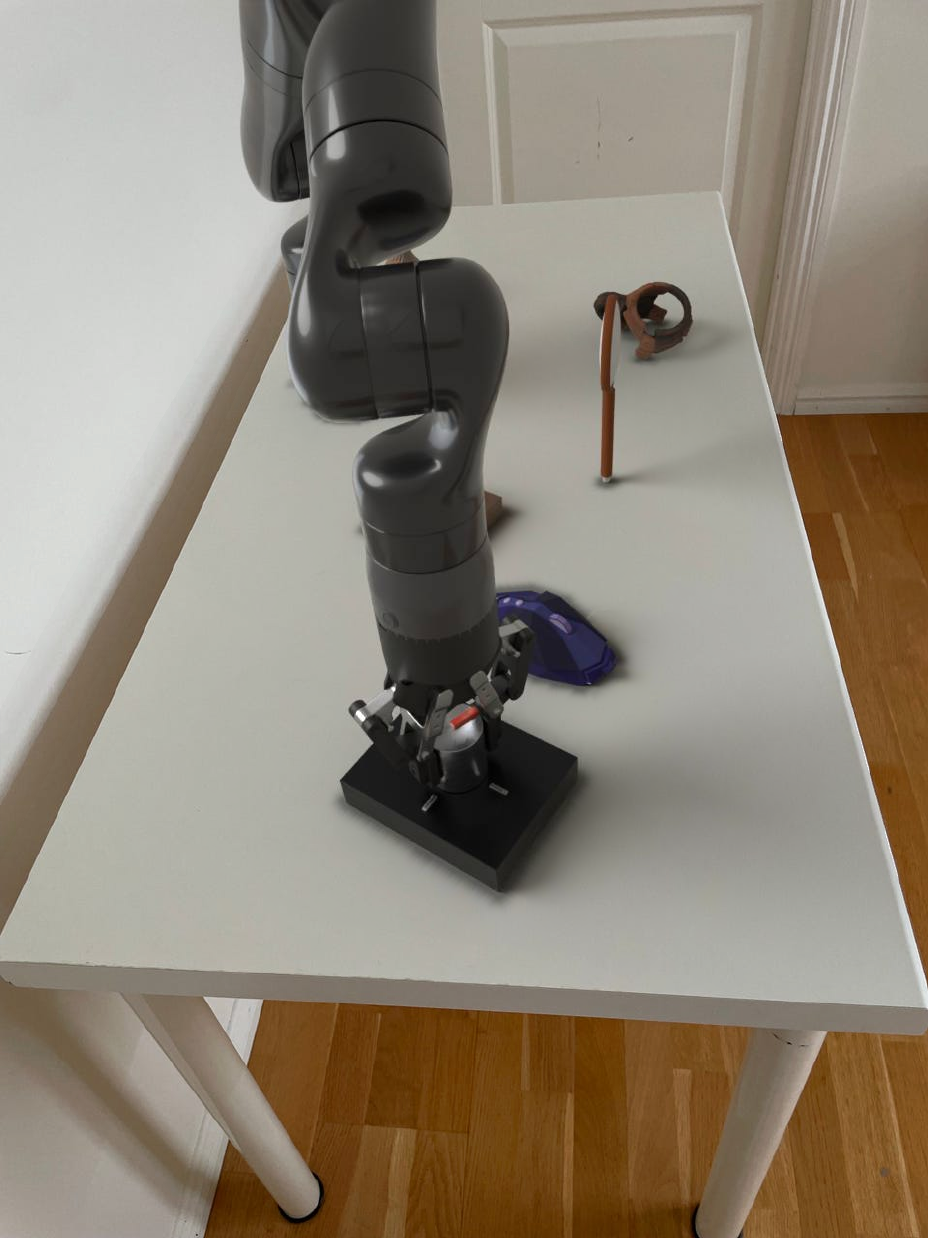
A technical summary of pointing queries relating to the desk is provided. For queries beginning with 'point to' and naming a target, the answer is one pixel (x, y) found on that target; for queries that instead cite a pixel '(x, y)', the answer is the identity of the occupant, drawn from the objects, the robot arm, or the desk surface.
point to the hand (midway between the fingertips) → (457, 759)
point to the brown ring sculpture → (649, 316)
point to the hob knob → (461, 750)
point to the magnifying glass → (609, 380)
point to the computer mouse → (559, 637)
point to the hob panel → (470, 803)
